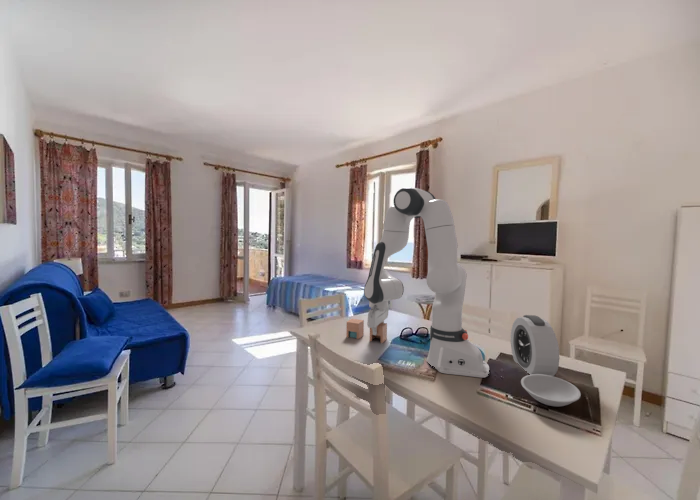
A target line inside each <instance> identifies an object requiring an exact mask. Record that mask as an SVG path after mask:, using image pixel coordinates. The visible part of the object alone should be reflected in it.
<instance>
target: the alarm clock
mask: <svg viewBox="0 0 700 500" xmlns="http://www.w3.org/2000/svg"><path fill="white" fill-rule="evenodd" d="M511 326H512V327H511V329H510V348H511V355H512V358H513V361H514V362H515V363H516V364H517V363H518V364H519V365H520V366H521V367H522V368H523V369H524V370H525V371H527V373H529V374H530V375H531V374H544V375H550V376H554V377H555V375H556V374H557V372H558V370H559V366H560V365H559V364H560V346H559V342H558V338H557V336H556V333H555V331H554V328H553V327H552V325H551V324H550V323H549V322H548V321H547V320H545V318H541V317H539V316H538V315H532V314H525V315H523V316H522V317H521V316H519V317H516V319H515V320H514V321H513V323H512V325H511ZM518 364H517V365H518ZM519 365H518V366H519ZM520 366H519V367H520ZM521 367H520V368H521ZM522 368H521V369H522ZM523 369H522V370H523ZM524 370H523V371H524ZM525 371H524V372H525ZM527 373H526V374H527Z"/></svg>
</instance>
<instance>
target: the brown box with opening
mask: <svg viewBox="0 0 700 500" xmlns="http://www.w3.org/2000/svg"><path fill="white" fill-rule="evenodd" d="M375 338H377V339H380V344H383V343H384V342H385V341H386V340H387V338H388V323H387V322H386V323H385V322H384V323H380V324H379V325H378V326H377V335H373V331H372V328H369V341H370V342H372V341H373V340H374V339H375Z"/></svg>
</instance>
